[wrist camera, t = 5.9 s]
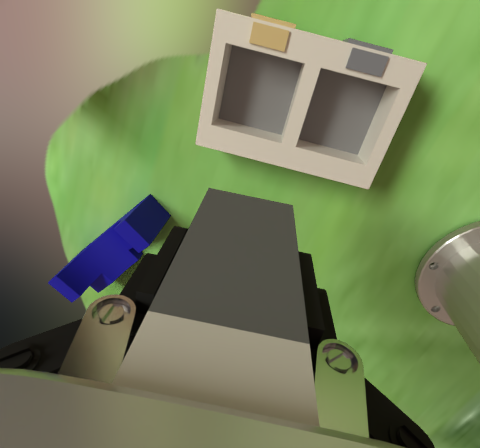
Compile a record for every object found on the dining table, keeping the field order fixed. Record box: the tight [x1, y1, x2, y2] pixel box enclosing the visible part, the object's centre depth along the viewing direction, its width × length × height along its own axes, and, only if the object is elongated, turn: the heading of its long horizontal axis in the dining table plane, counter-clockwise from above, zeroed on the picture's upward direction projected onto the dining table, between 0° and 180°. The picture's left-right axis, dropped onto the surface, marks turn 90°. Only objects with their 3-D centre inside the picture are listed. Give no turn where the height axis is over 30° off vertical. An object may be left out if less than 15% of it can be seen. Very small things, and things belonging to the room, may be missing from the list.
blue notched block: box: [48, 194, 171, 302], centre depth 32 cm, size 12×4×6 cm, turn 129°
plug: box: [112, 188, 320, 427], centre depth 11 cm, size 4×4×10 cm
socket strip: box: [196, 9, 427, 189], centre depth 24 cm, size 14×9×4 cm, turn 77°
